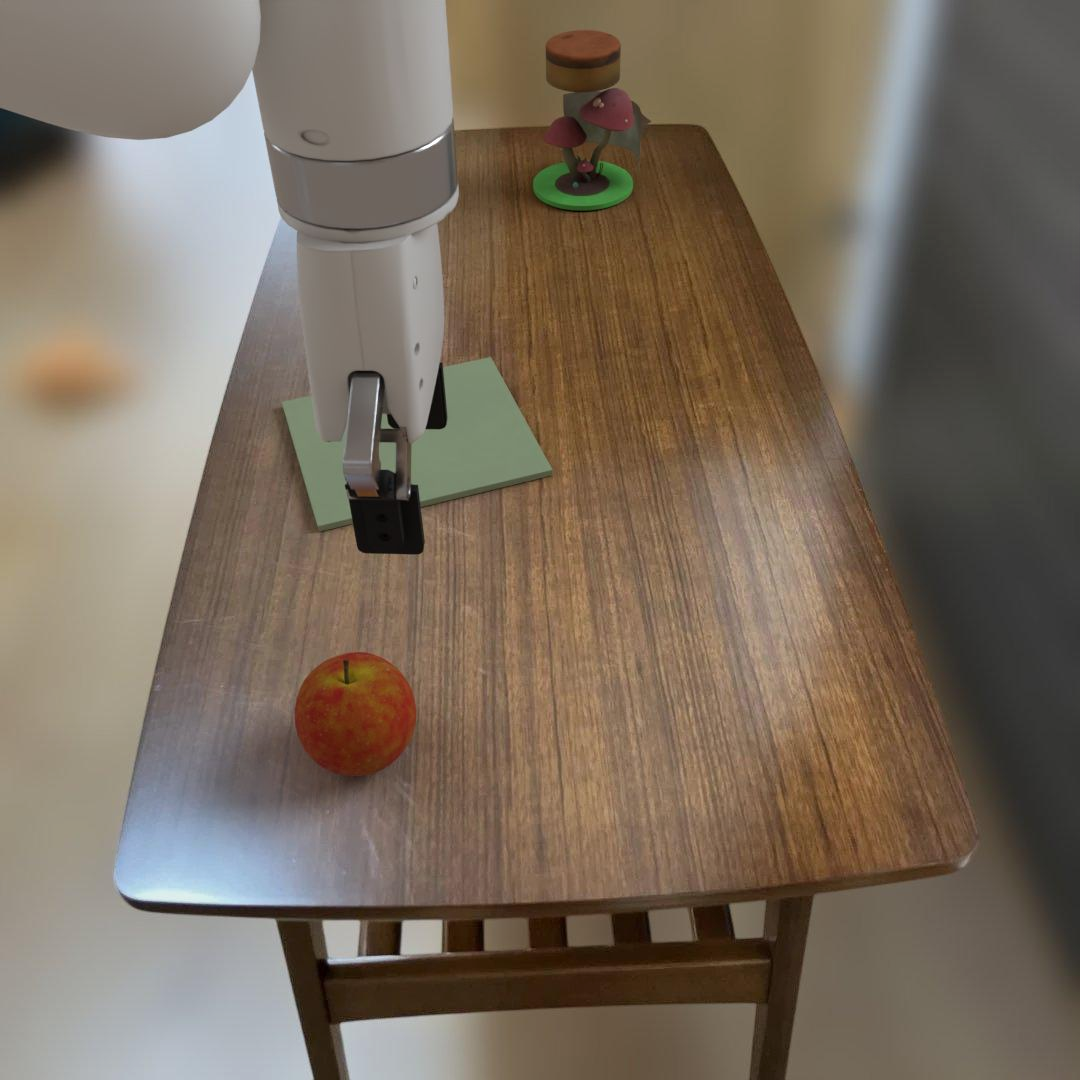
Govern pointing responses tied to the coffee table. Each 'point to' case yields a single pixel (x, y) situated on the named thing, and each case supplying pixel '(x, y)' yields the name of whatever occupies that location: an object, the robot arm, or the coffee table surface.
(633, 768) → the coffee table surface
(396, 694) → the fruit
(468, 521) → the coffee table surface
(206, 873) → the coffee table surface
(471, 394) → the mat
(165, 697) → the coffee table surface
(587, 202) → the mushroom figurine
